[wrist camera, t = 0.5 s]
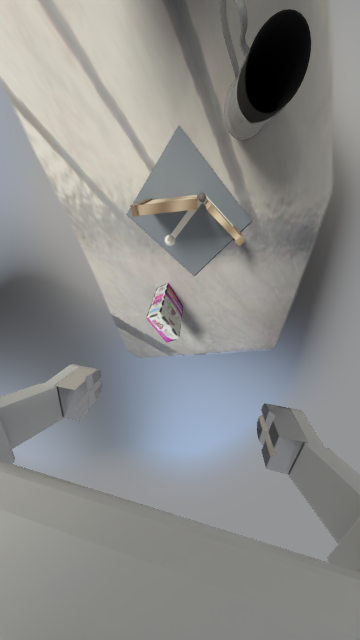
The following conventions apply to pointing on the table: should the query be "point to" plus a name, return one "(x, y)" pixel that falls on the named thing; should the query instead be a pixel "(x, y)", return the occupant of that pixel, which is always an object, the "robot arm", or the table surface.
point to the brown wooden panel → (164, 205)
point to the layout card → (191, 225)
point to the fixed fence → (223, 221)
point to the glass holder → (265, 69)
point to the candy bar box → (166, 313)
